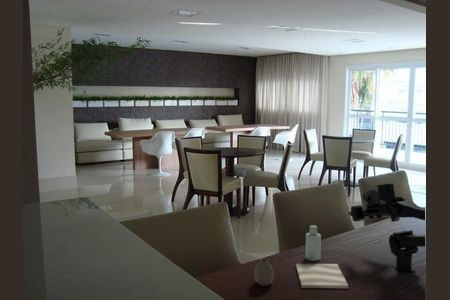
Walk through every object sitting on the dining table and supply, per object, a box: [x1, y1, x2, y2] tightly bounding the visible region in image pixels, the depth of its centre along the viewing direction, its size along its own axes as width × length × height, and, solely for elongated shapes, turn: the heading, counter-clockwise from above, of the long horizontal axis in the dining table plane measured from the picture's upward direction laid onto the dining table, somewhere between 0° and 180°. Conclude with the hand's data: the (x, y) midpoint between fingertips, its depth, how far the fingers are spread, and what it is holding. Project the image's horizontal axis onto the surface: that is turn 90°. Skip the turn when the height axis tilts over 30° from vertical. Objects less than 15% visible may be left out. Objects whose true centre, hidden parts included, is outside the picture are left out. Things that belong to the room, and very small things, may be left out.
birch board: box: [295, 263, 349, 289], centre depth 149 cm, size 18×16×1 cm
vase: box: [254, 258, 275, 287], centre depth 144 cm, size 7×7×9 cm
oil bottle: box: [305, 224, 322, 262], centre depth 166 cm, size 6×6×14 cm
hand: (357, 212), depth 176 cm, fingers open, 9 cm apart
